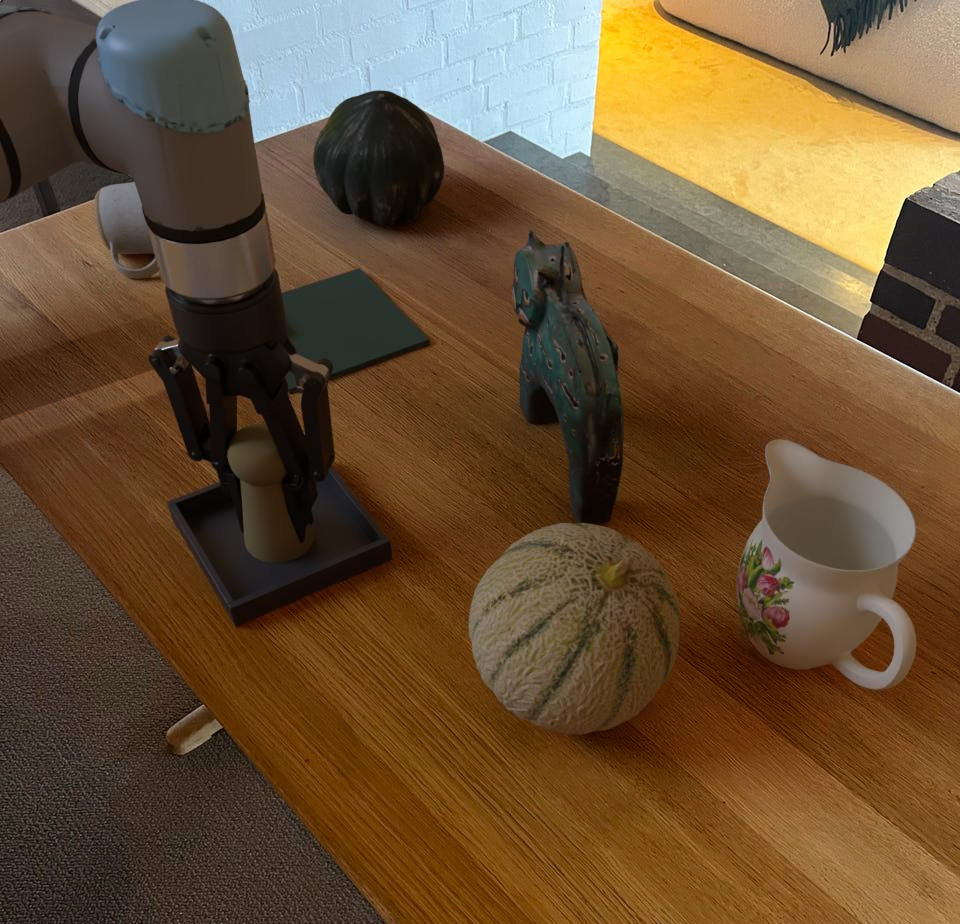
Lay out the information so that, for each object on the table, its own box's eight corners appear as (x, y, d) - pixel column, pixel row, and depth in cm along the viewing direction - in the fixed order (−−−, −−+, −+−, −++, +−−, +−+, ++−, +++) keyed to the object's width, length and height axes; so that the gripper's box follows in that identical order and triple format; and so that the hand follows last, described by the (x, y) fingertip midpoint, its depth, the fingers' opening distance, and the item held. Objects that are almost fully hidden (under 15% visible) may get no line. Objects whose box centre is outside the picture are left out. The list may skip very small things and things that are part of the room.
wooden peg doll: (262, 573, 82) (236, 473, 74) (233, 529, 86) (205, 428, 77) (327, 545, 84) (309, 444, 76) (296, 503, 88) (276, 402, 79)
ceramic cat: (503, 397, 97) (507, 199, 82) (566, 387, 98) (582, 189, 83) (564, 537, 85) (582, 336, 70) (635, 523, 86) (668, 322, 71)
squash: (350, 119, 123) (311, 53, 109) (465, 139, 121) (442, 74, 106) (326, 233, 124) (284, 184, 110) (440, 255, 122) (413, 207, 107)
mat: (227, 315, 106) (225, 310, 106) (359, 272, 112) (359, 267, 111) (289, 394, 98) (288, 389, 97) (430, 344, 103) (429, 339, 103)
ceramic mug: (116, 233, 117) (96, 169, 111) (186, 229, 117) (170, 165, 111) (103, 284, 110) (81, 219, 104) (177, 280, 111) (159, 215, 105)
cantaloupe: (464, 620, 80) (460, 480, 68) (645, 609, 80) (672, 469, 68) (477, 780, 70) (476, 649, 59) (682, 766, 71) (721, 634, 59)
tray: (172, 520, 87) (166, 501, 85) (319, 464, 91) (316, 444, 90) (235, 627, 79) (230, 608, 77) (392, 559, 84) (390, 540, 82)
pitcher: (810, 758, 71) (867, 639, 61) (679, 588, 82) (709, 460, 71) (931, 707, 74) (1007, 584, 63) (790, 548, 84) (835, 420, 74)
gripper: (360, 261, 67) (387, 512, 85) (127, 231, 69) (202, 481, 88) (323, 323, 62) (360, 575, 80) (76, 289, 65) (165, 540, 83)
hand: (277, 526), depth 84 cm, fingers closed on wooden peg doll, 4 cm apart
